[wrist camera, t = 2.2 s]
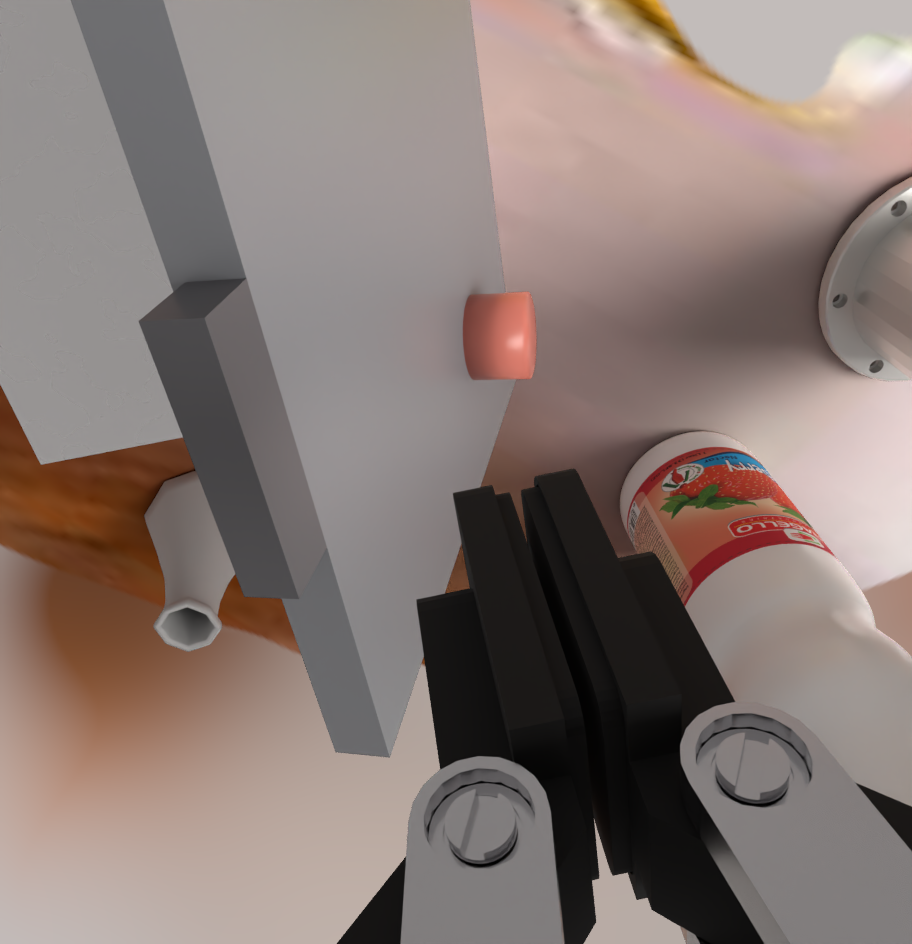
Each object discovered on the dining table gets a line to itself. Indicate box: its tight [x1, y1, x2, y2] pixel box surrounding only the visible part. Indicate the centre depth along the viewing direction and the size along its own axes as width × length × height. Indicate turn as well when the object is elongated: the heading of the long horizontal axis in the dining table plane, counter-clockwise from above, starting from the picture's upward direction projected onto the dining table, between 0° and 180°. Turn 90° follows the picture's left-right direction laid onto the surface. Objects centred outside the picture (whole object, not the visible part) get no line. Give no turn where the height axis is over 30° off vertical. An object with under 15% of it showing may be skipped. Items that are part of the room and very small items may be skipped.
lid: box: [71, 0, 537, 757], centre depth 23 cm, size 22×20×4 cm
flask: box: [144, 471, 235, 652], centre depth 48 cm, size 7×7×10 cm
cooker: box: [0, 0, 183, 465], centre depth 37 cm, size 20×25×10 cm
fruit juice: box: [620, 431, 912, 806], centre depth 44 cm, size 9×9×28 cm
